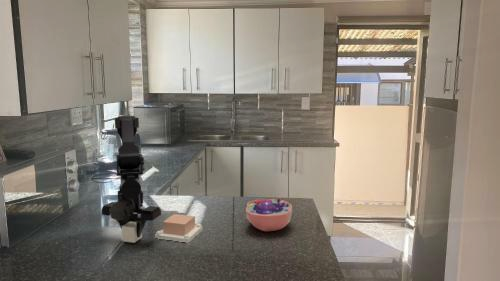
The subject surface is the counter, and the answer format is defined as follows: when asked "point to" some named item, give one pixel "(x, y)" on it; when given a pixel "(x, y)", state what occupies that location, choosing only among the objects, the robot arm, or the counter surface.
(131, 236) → the cream brick
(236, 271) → the counter surface
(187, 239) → the base plate
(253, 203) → the cell model
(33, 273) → the counter surface
